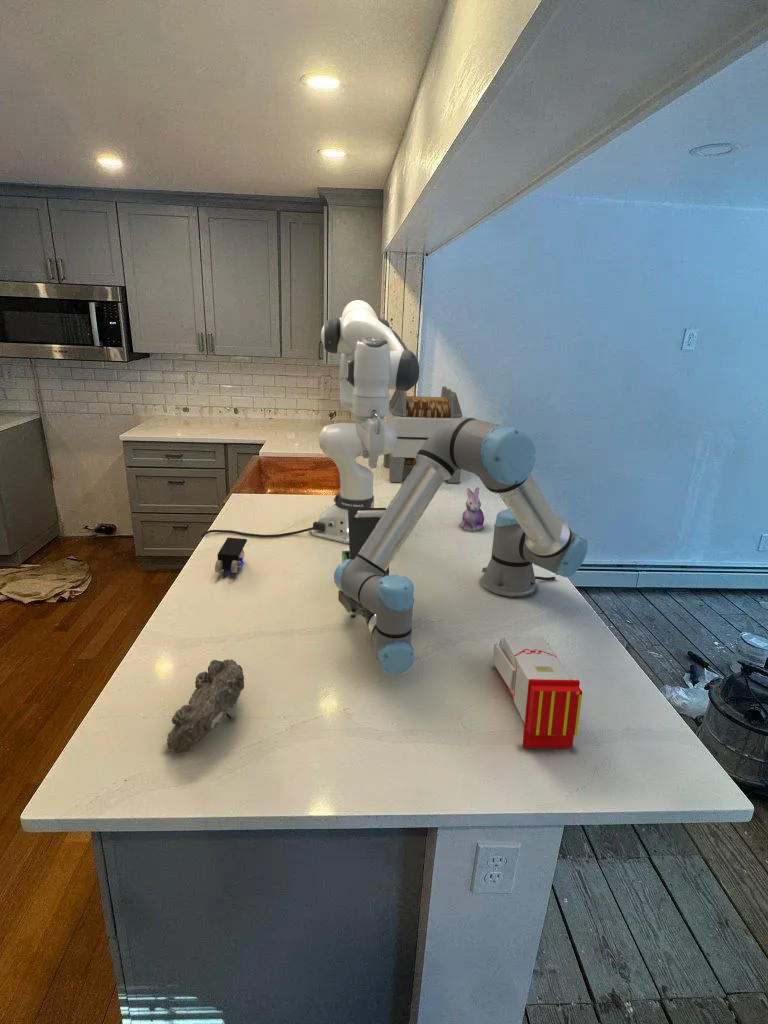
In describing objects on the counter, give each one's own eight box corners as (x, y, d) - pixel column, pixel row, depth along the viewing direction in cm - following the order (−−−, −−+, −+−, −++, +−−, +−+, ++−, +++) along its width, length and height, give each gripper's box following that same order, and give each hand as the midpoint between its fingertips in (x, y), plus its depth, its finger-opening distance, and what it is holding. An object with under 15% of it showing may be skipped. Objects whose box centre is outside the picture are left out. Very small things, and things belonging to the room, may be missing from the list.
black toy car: (238, 584, 162) (249, 557, 175) (236, 562, 158) (247, 536, 172) (215, 584, 161) (227, 556, 175) (212, 561, 158) (225, 535, 171)
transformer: (382, 463, 289) (386, 382, 275) (445, 464, 293) (451, 384, 279) (390, 482, 257) (394, 392, 243) (460, 483, 261) (468, 394, 247)
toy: (540, 620, 128) (592, 687, 99) (535, 674, 131) (584, 755, 102) (487, 619, 128) (523, 686, 99) (483, 673, 131) (517, 754, 101)
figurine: (470, 533, 202) (474, 493, 197) (453, 524, 211) (457, 485, 206) (491, 530, 207) (495, 491, 202) (474, 520, 215) (478, 483, 210)
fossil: (192, 660, 117) (244, 628, 112) (224, 691, 120) (276, 661, 115) (142, 746, 98) (202, 712, 93) (182, 779, 101) (242, 748, 96)
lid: (347, 509, 147) (351, 505, 140) (385, 508, 149) (391, 504, 142) (350, 575, 146) (354, 575, 138) (388, 573, 148) (395, 573, 140)
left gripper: (392, 415, 129) (390, 473, 134) (376, 400, 148) (374, 452, 153) (365, 415, 128) (363, 474, 132) (352, 400, 147) (351, 452, 151)
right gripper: (334, 641, 129) (324, 594, 149) (430, 634, 133) (408, 590, 154) (334, 612, 126) (324, 569, 147) (432, 606, 131) (409, 565, 151)
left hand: (369, 462), depth 143 cm, fingers open, 8 cm apart
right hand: (367, 579), depth 150 cm, fingers closed on chest, 10 cm apart
